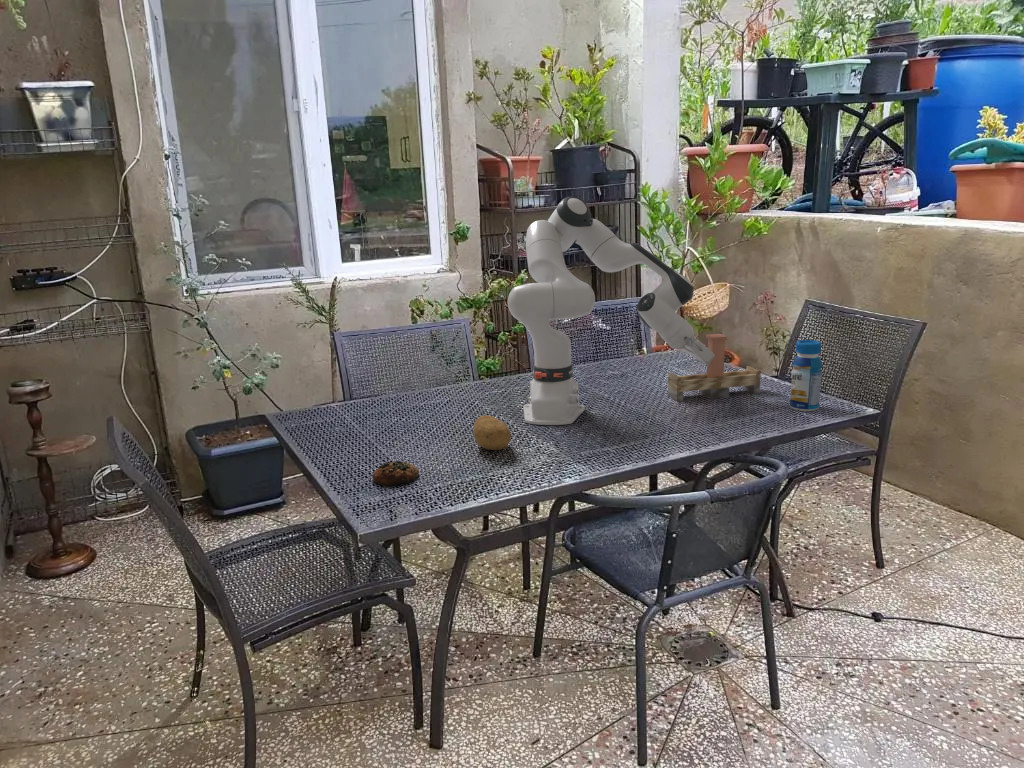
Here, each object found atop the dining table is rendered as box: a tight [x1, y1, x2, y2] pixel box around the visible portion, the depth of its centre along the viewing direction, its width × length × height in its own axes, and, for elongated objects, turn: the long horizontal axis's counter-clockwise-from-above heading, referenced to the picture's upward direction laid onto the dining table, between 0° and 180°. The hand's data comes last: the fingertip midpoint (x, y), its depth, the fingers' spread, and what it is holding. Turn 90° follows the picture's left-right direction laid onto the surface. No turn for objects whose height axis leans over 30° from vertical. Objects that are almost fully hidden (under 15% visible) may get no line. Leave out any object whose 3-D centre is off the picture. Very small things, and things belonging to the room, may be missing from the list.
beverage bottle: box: [789, 339, 823, 412], centre depth 218 cm, size 8×8×20 cm
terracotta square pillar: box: [705, 333, 728, 378], centre depth 234 cm, size 5×5×14 cm
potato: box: [472, 414, 512, 451], centre depth 195 cm, size 10×14×8 cm
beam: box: [667, 365, 762, 402], centre depth 236 cm, size 28×9×7 cm, turn 101°
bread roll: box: [372, 460, 420, 487], centre depth 179 cm, size 11×11×5 cm
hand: (707, 362), depth 234 cm, fingers closed, pressing on terracotta square pillar
